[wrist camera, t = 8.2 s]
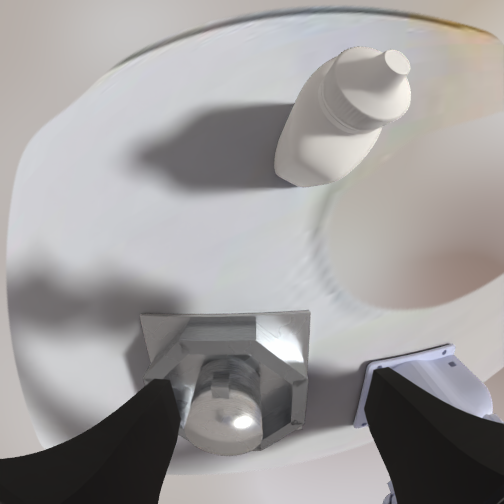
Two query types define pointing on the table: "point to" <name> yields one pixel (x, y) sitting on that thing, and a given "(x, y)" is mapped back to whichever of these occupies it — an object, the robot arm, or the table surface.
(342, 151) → the eye dropper bottle
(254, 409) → the silver short rounded cylinder
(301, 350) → the collar
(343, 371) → the table surface
